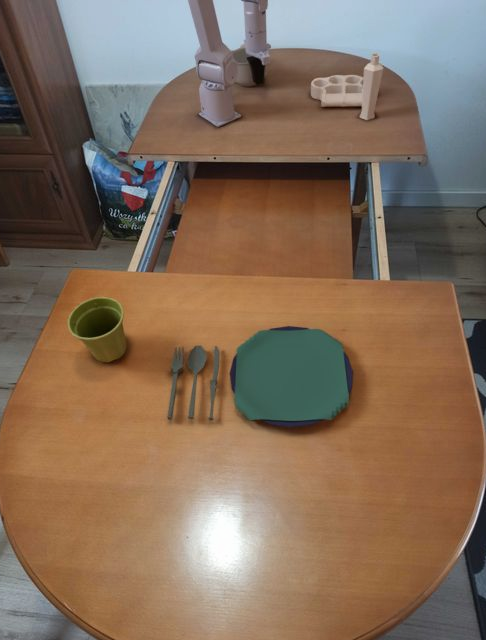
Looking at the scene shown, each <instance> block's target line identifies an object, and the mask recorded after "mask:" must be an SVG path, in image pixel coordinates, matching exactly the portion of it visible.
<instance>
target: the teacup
mask: <svg viewBox="0 0 486 640" xmlns="http://www.w3.org/2000/svg"><path fill="white" fill-rule="evenodd" d="M233 50H234V51H233ZM233 50H232V51H233V52H232V54H233V57H234V59H235V60H236V62H237V65H238V75H237V78H236V81H235V82H234V83H237V84H238V85H239V86H241V87H245V88H247V87H254V86H257V85H256V83H254V82H253V78H252V72H251V68H250V65H249V62H248V60H247V57H250V56H251V55H249V54H247V53H246V50H245V47H244V44H241V45H240V47H239V48H238V47H237V48H236V49H233ZM266 75H267V65H265V71H264V78H265V77H266Z"/></svg>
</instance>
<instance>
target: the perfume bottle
mask: <svg viewBox="0 0 486 640" xmlns="http://www.w3.org/2000/svg"><path fill="white" fill-rule="evenodd" d="M380 57H381V54H380V53H378V52H373V53H371V55H370V62H368V63H367V64H366V65H365V66H364V68H363V77H364V80H363V98H362V107H361V112H360V114H359V119H362V120H364V121H370V120H372V119H376V118H375V111H376V110H375V109H376V104H377V100H378V95H379V91H380V87H381V82H382V77H383V74H384V68H385V67H384V66H383V65H382V63H380Z"/></svg>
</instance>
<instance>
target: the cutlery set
mask: <svg viewBox="0 0 486 640" xmlns="http://www.w3.org/2000/svg"><path fill="white" fill-rule="evenodd" d="M184 349H185V348H184V346H182V348H181V346H179V347H177V346H175V347H174V353H173V357H172V361H171V365H170V371H171V372H172V374H173V375H172V382H171V383H172V384H171V390H170V397H169V403H168V409H167V415H166V419H167V420H169V421H170V420H171V421H172V420H173V413H174V405H175V399H176V393H177V384H178V376H180V373H181V372H182V371H184V368H183V367H184V366H183V365H184V351H185V350H184ZM186 361H187V367H188V368H189V369H190V371H191V373H193V381H192V386H191V394H190V400H189V406H188V407H189V409H188V415H187V419H189V420H193V419H194V416H195V404H196V390H197V389H196V388H197V378H198V374H199V372H201V371H202V370H203V369H204V368H205V365H206V362H207V351H206V349H205V348H204V347H203V346H202V345H194V347H193V348H192V349H191V350H190V351H189V353H188V356H187V360H186ZM219 366H220V349H219V347H218V346H217V345H215V346H214V355H213V367H212V379H211V380H209V383H210V386H209V388H210V409H209V417H208V421H214V403H215V395H216V392H217V385H218V384H219V383H218V380H217V378H218V374H219V368H220V367H219ZM353 379H354V371H353V368H352V364H351V361H350V359H349V356H348V354H347V353H346V352H345V351H344V345H343V343H342V342H340V340H338V339H336V338H335V337H334V336H332V335H331V334H329V333H328V332H327V331H325V330H323V329H320V328H309V327H304V326H302V327H301V326H295V325H294V326H292V325H285V326H279V327H271V328H269V329H261V330H258V331H257V332H256V333H254V334H253V335H252V336H250V337H249V338H248V339H247V340H245V341H244V342H243V343H241V344H240V345H239V346H237V348H236V354H235V355H234V356H233V358H232V362H231V366H230V370H229V380H230V386H231V391H232V393H233V394H234V405H235V408H236V409H237V411H239V412H240V413H241V414H243V415H244V417H246V418H247V419H248V420H249V421H255V420H256V421H257V420H260V421H261V422H265V423H266V424H268V425H271V426H275V427H283V428H290V429H295V428H296V429H297V428H302V427H309V426H314V425H316V424H319V423H321V422H322V421H325V420H329V421H332V420H334V419H335V418H336V416H338V415H339V414H340V412H342V411H343V410H344V409H346V408H347V407H348V406H349V401H350V394H351V392H352V389H353V381H354V380H353Z"/></svg>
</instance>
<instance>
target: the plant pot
mask: <svg viewBox="0 0 486 640" xmlns="http://www.w3.org/2000/svg"><path fill="white" fill-rule="evenodd" d="M124 316H125V312H124V308H123V306H122V304H121V303H120V302H119V301H118V300H116V299H114V298H112V297H109V296H97V297H93V298H88V299H87V300H84V301H82V302H80V303H79V304H78V305H76V307H75V308H73V310H72V311H71V312H70V314H69V315H68V317H67V328H68V331H69V333H70V334H71V336H73V337H75V339H78V340H80V341H81V342H82V343H83V345H84V346H85V347H86V348H87V349H88V351H89V352H90V353H91V354H92V356H93V357H94V359H96V360H97V361H99V362H102V363H111V362H112V361H115V360H118V359H121V357H123V355H125V353H126V351H127V347H128V345H127V340H126V335H125V329H124V324H123V323H124Z"/></svg>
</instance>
